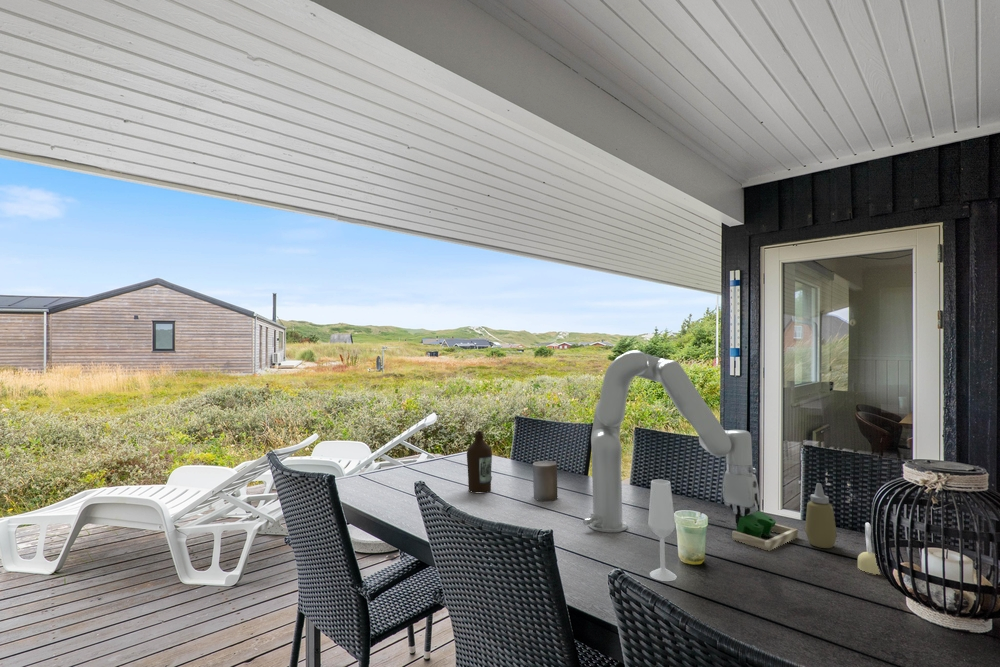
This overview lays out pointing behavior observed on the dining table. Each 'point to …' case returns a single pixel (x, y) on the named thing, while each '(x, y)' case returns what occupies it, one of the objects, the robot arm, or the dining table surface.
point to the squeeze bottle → (820, 520)
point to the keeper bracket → (784, 537)
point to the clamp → (755, 524)
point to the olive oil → (479, 464)
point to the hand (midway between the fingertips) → (741, 527)
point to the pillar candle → (545, 480)
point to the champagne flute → (661, 522)
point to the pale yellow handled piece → (868, 555)
